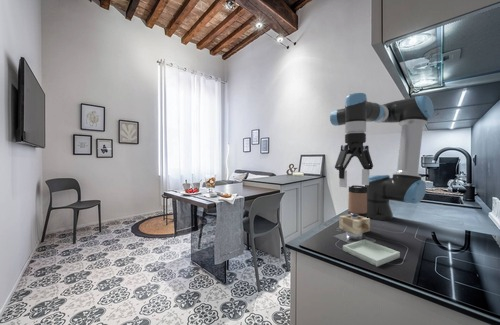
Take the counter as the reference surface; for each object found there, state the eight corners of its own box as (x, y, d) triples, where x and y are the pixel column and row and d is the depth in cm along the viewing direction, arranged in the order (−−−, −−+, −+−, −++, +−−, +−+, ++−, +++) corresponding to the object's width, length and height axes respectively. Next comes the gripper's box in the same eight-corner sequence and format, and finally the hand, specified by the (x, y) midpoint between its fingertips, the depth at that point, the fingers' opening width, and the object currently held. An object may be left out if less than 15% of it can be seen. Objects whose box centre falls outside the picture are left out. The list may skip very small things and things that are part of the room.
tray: (364, 243, 81) (364, 239, 81) (399, 257, 70) (399, 252, 70) (342, 250, 75) (342, 245, 75) (377, 266, 64) (377, 260, 64)
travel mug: (369, 233, 91) (369, 188, 91) (350, 232, 93) (351, 187, 92) (363, 227, 99) (364, 185, 98) (346, 226, 100) (346, 185, 100)
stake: (351, 232, 93) (351, 208, 92) (375, 241, 83) (376, 215, 82) (333, 237, 88) (333, 212, 87) (357, 247, 78) (357, 219, 77)
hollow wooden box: (352, 225, 90) (352, 213, 90) (372, 231, 82) (372, 219, 82) (339, 228, 87) (339, 216, 87) (359, 235, 79) (359, 222, 78)
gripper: (366, 135, 93) (365, 183, 93) (325, 132, 81) (325, 186, 82) (383, 133, 86) (382, 185, 87) (341, 130, 75) (341, 189, 75)
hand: (354, 186), depth 84 cm, fingers open, 13 cm apart
